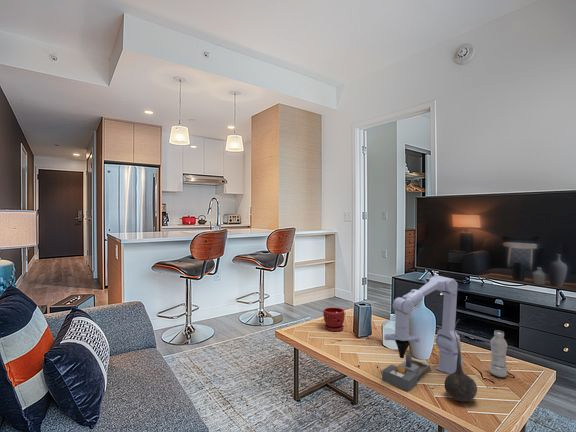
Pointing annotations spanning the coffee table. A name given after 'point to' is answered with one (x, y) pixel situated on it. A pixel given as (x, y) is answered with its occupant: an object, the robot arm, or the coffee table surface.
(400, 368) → the button
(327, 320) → the plant pot
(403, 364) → the carriage
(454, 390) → the radish
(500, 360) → the plastic bottle
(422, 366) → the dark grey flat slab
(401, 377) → the grey open box
